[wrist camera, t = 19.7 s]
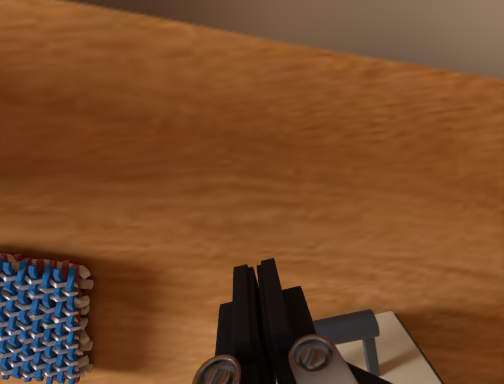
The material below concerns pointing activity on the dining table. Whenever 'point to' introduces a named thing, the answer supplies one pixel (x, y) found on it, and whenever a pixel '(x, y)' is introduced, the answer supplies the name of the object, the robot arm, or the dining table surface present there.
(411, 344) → the drawer
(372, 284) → the dining table surface
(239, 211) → the dining table surface
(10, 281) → the woven mat
